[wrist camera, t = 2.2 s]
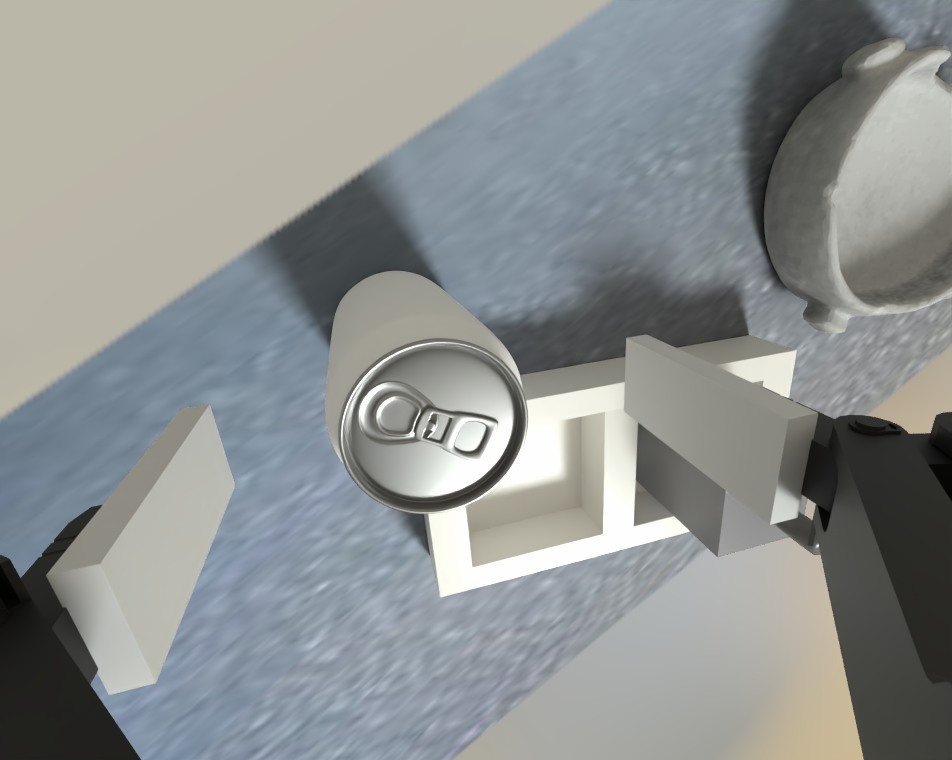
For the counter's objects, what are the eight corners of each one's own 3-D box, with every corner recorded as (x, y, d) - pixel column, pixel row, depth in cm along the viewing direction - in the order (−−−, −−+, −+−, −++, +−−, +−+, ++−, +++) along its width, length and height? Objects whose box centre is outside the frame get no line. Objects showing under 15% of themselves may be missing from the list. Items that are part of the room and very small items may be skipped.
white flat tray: (429, 556, 30) (440, 597, 27) (406, 394, 26) (414, 421, 23) (731, 482, 35) (770, 510, 32) (749, 334, 31) (796, 350, 28)
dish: (775, 55, 25) (870, 22, 21) (969, 70, 29) (1087, 44, 24) (728, 324, 30) (796, 346, 26) (897, 311, 34) (984, 328, 29)
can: (356, 248, 23) (367, 288, 12) (476, 296, 25) (576, 365, 14) (314, 370, 25) (291, 503, 14) (431, 404, 27) (492, 542, 16)
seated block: (630, 475, 31) (765, 602, 21) (633, 405, 30) (782, 508, 20) (697, 459, 32) (856, 574, 22) (704, 391, 31) (880, 482, 21)
